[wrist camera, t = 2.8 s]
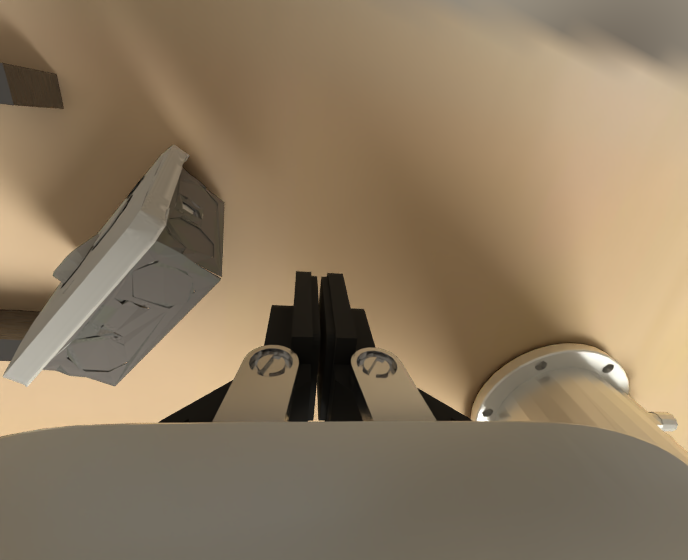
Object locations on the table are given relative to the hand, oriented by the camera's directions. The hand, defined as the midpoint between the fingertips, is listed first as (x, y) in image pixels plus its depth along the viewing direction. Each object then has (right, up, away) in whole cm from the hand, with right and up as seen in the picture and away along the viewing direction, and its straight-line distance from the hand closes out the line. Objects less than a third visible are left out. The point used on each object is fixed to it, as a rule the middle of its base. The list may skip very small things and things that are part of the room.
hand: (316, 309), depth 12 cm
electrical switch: (-9, +4, +8) cm, 13 cm away
